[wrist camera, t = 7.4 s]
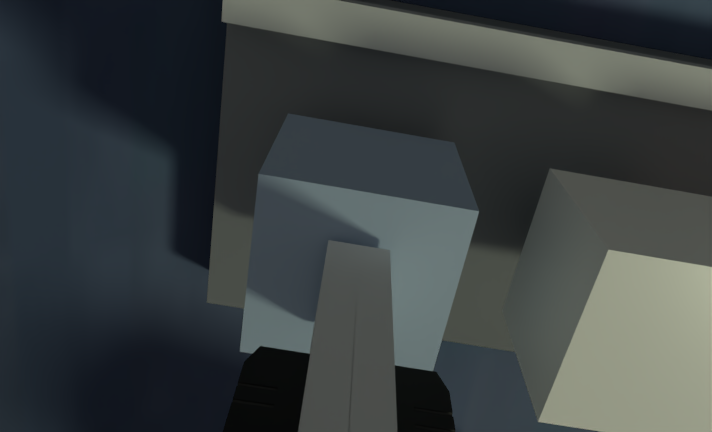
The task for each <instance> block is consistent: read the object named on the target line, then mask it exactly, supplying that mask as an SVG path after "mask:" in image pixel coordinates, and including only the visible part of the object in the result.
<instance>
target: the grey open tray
mask: <svg viewBox="0 0 712 432" xmlns="http://www.w3.org/2000/svg"><path fill="white" fill-rule="evenodd" d="M221 22H226V23H227V31H226V45H225V59H224V73H223V86H222V100H221V114H220V128H219V142H218V156H217V169H216V183H215V197H214V211H213V225H212V238H211V252H210V266H209V280H208V294H207V303H213V304H219V305H226V306H232V307H238V308H244V306H245V297H246V287H247V278H248V268H249V259H250V250H251V240H252V231H253V221H254V212H255V202H256V193H257V184H258V174H259V172H260V170H261V168H262V166H263V164H264V162H265V160H266V158H267V155H268V153H269V151H270V149H271V147H272V145H273V143H274V141H275V139H276V137H277V135H278V133H279V131H280V129H281V127H282V125H283V123H284V121H285V119H286V117H287V115H288V113H289V114H295V115H300V116H306V117H312V118H317V119H323V120H329V121H335V122H340V123H346V124H352V125H357V126H363V127H369V128H374V129H380V130H386V131H392V132H397V133H403V134H409V135H414V136H420V137H426V138H432V139H437V140H443V141H449V142H454V143H455V146H456V148H457V151H458V154H459V157H460V159H461V162H462V165H463V168H464V171H465V173H466V176H467V179H468V182H469V184H470V187H471V190H472V193H473V195H474V198H475V201H476V204H477V206H478V209H479V214H478V217H477V221H476V224H475V228H474V231H473V235H472V238H471V242H470V245H469V248H468V252H467V255H466V259H465V262H464V266H463V269H462V272H461V276H460V279H459V283H458V286H457V290H456V293H455V297H454V300H453V303H452V307H451V310H450V314H449V317H448V321H447V324H446V328H445V331H444V334H443V338H442V340H444V341H450V342H456V343H463V344H469V345H475V346H481V347H488V348H494V349H500V350H506V351H513V352H515V350H514V347H513V344H512V340H511V337H510V334H509V331H508V328H507V325H506V322H505V319H504V316H503V313H502V309H503V306H504V303H505V300H506V297H507V294H508V291H509V288H510V285H511V282H512V279H513V276H514V273H515V270H516V267H517V264H518V261H519V258H520V255H521V252H522V249H523V246H524V243H525V240H526V237H527V234H528V231H529V228H530V225H531V222H532V219H533V217H534V214H535V211H536V208H537V205H538V202H539V199H540V196H541V193H542V190H543V187H544V184H545V181H546V178H547V175H548V172H549V169H550V168H551V169H556V170H562V171H568V172H574V173H579V174H585V175H591V176H597V177H602V178H608V179H614V180H619V181H625V182H631V183H637V184H642V185H648V186H654V187H660V188H665V189H671V190H677V191H683V192H688V193H694V194H700V195H705V196H711V197H712V60H710V59H705V58H699V57H694V56H688V55H683V54H678V53H672V52H667V51H661V50H656V49H651V48H645V47H640V46H634V45H629V44H624V43H618V42H613V41H607V40H602V39H597V38H591V37H586V36H580V35H575V34H570V33H564V32H559V31H553V30H548V29H543V28H537V27H532V26H526V25H521V24H516V23H510V22H505V21H499V20H494V19H489V18H483V17H478V16H472V15H467V14H461V13H456V12H451V11H445V10H440V9H434V8H429V7H424V6H418V5H413V4H407V3H402V2H397V1H391V0H223V5H222V20H221Z"/></svg>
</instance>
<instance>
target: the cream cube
mask: <svg viewBox="0 0 712 432" xmlns="http://www.w3.org/2000/svg"><path fill="white" fill-rule="evenodd" d="M502 313H503V316H504V319H505V322H506V325H507V328H508V331H509V334H510V337H511V340H512V344H513V347H514V350H515V353H516V356H517V359H518V362H519V365H520V368H521V371H522V374H523V377H524V380H525V383H526V386H527V390H528V393H529V396H530V399H531V402H532V405H533V408H534V411H535V414H536V417H537V420H538V422H543V423H549V424H556V425H562V426H569V427H575V428H582V429H588V430H595V431H601V432H712V197H711V196H705V195H700V194H694V193H688V192H683V191H677V190H671V189H665V188H660V187H654V186H648V185H642V184H637V183H631V182H625V181H619V180H614V179H608V178H602V177H597V176H591V175H585V174H579V173H574V172H568V171H562V170H556V169H551V168H550V169H549V172H548V175H547V178H546V181H545V184H544V187H543V190H542V193H541V196H540V199H539V202H538V205H537V208H536V211H535V214H534V217H533V219H532V222H531V225H530V228H529V231H528V234H527V237H526V240H525V243H524V246H523V249H522V252H521V255H520V258H519V261H518V264H517V267H516V270H515V273H514V276H513V279H512V282H511V285H510V288H509V291H508V294H507V297H506V300H505V303H504V306H503V309H502Z"/></svg>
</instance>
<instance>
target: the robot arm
mask: <svg viewBox="0 0 712 432" xmlns="http://www.w3.org/2000/svg"><path fill="white" fill-rule="evenodd" d="M223 432H455V425H454V419H453V417H452V406H451V400H450V393H449V391H448V389H447V388H446V386H445V385H444V383H443V381H442V380H441V378H440V377H439V375H438V374H437V372H434V371H428V370H421V369H415V368H408V367H402V366H396V365H395V360H394V336H393V311H392V286H391V262H390V250H386V249H380V248H374V247H368V246H362V245H356V244H350V243H344V242H338V241H332V240H328V246H327V252H326V257H325V263H324V269H323V275H322V281H321V287H320V293H319V298H318V304H317V310H316V316H315V322H314V328H313V334H312V340H311V346H310V352H309V353H302V352H296V351H289V350H283V349H277V348H270V347H264V346H260V347H259V348H258V349H257V350H256V351H255V352H254V353H253V354H252V355H251V356H250V357H249V358H248V359H247V360H246V361H245V362H244V365H243V368H242V371H241V374H240V378H239V381H238V386H237V387H236V391H235V394H234V397H233V402H232V404H231V407H230V410H229V413H228V417H227V420H226V423H225V426H224V430H223Z"/></svg>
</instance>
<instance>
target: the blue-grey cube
mask: <svg viewBox="0 0 712 432" xmlns="http://www.w3.org/2000/svg"><path fill="white" fill-rule="evenodd" d="M478 214H479V209H478V206H477V204H476V201H475V198H474V195H473V193H472V190H471V187H470V184H469V182H468V179H467V176H466V173H465V171H464V168H463V165H462V162H461V159H460V157H459V154H458V151H457V148H456V146H455V143H454V142H449V141H443V140H437V139H432V138H426V137H420V136H414V135H409V134H403V133H397V132H392V131H386V130H380V129H374V128H369V127H363V126H357V125H352V124H346V123H340V122H335V121H329V120H323V119H317V118H312V117H306V116H300V115H295V114H289V113H288V115H287V117H286V119H285V121H284V123H283V125H282V127H281V129H280V131H279V133H278V135H277V137H276V139H275V141H274V143H273V145H272V147H271V149H270V151H269V153H268V155H267V158H266V160H265V162H264V164H263V166H262V168H261V170H260V172H259V174H258V184H257V193H256V202H255V212H254V221H253V231H252V240H251V250H250V259H249V268H248V278H247V287H246V297H245V306H244V316H243V325H242V334H241V344H240V352H245V353H252V354H253V353H254V352H255V351H256V350H257V349H258V348H259V347H260V346H264V347H270V348H277V349H283V350H289V351H296V352H302V353H309V352H310V346H311V340H312V334H313V328H314V322H315V316H316V310H317V304H318V298H319V293H320V287H321V281H322V275H323V269H324V263H325V257H326V252H327V246H328V240H332V241H338V242H344V243H350V244H356V245H362V246H368V247H374V248H380V249H386V250H390V262H391V286H392V311H393V336H394V360H395V365H396V366H402V367H408V368H415V369H421V370H428V371H433V369H434V365H435V362H436V358H437V355H438V352H439V348H440V345H441V341H442V338H443V334H444V331H445V328H446V324H447V321H448V317H449V314H450V310H451V307H452V303H453V300H454V297H455V293H456V290H457V286H458V283H459V279H460V276H461V272H462V269H463V266H464V262H465V259H466V255H467V252H468V248H469V245H470V242H471V238H472V235H473V231H474V228H475V224H476V221H477V217H478Z"/></svg>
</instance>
